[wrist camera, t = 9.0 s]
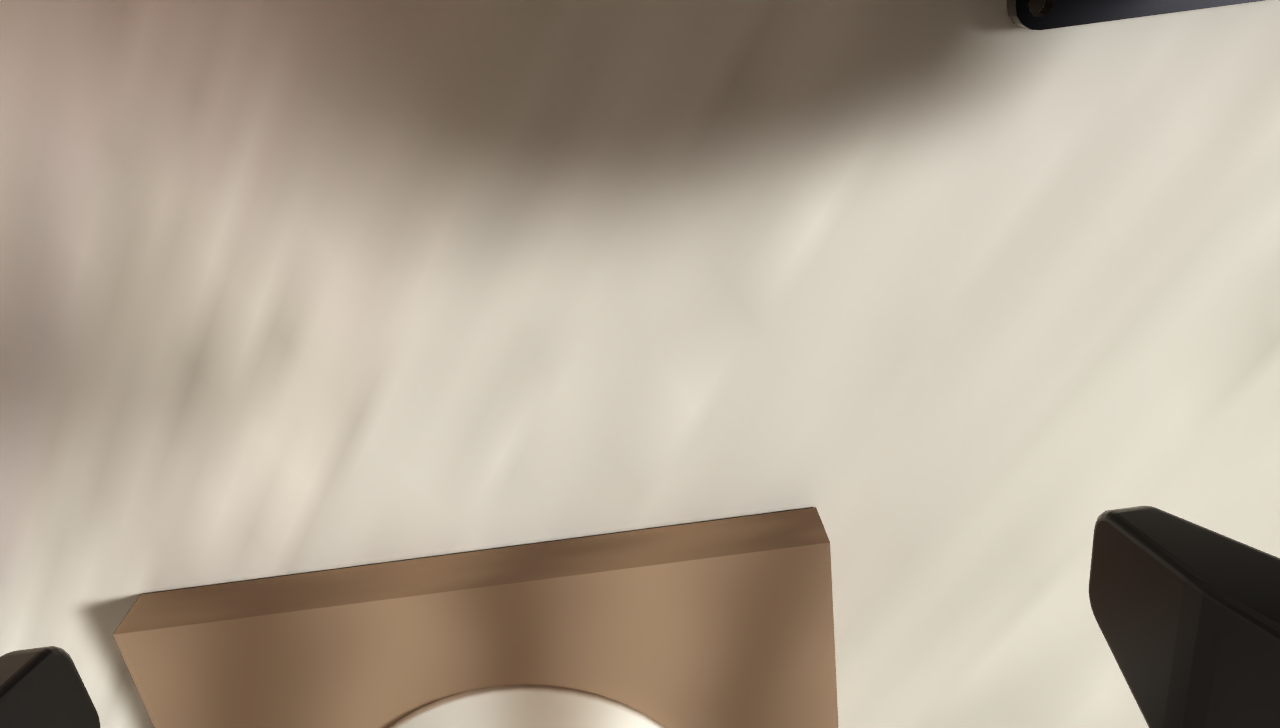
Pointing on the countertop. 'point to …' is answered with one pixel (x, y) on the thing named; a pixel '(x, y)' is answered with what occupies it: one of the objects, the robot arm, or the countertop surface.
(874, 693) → the countertop surface
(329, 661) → the walnut board
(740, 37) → the countertop surface
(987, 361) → the countertop surface
